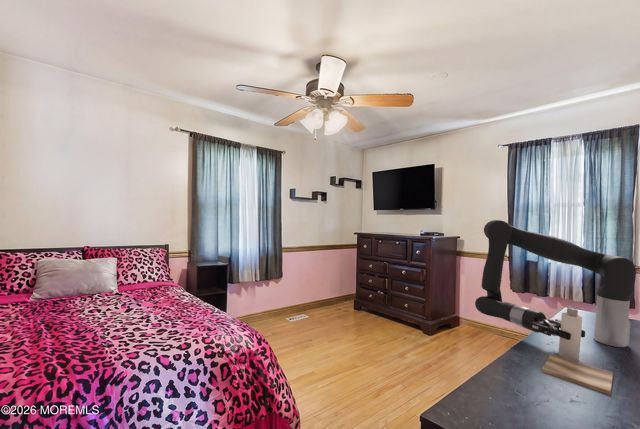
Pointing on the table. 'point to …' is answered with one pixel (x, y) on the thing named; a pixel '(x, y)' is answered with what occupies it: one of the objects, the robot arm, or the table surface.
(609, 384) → the oak board
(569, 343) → the lotion bottle
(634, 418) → the table surface
